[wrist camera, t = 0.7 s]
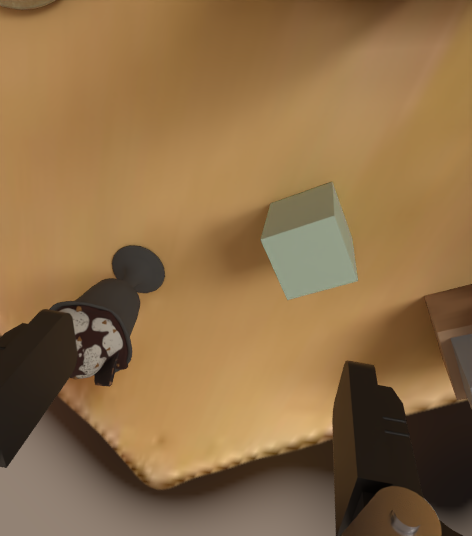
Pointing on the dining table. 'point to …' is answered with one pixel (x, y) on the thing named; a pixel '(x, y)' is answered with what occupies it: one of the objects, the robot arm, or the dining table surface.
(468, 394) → the cube
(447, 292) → the plinth
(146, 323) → the dining table surface
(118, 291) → the sundae
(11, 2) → the toy sandwich meal
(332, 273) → the block
